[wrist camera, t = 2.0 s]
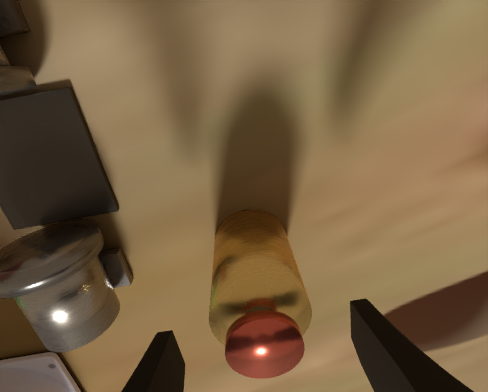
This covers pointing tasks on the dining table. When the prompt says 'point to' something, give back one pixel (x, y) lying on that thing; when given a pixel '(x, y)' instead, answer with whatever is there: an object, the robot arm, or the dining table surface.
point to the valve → (257, 296)
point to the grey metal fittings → (54, 209)
